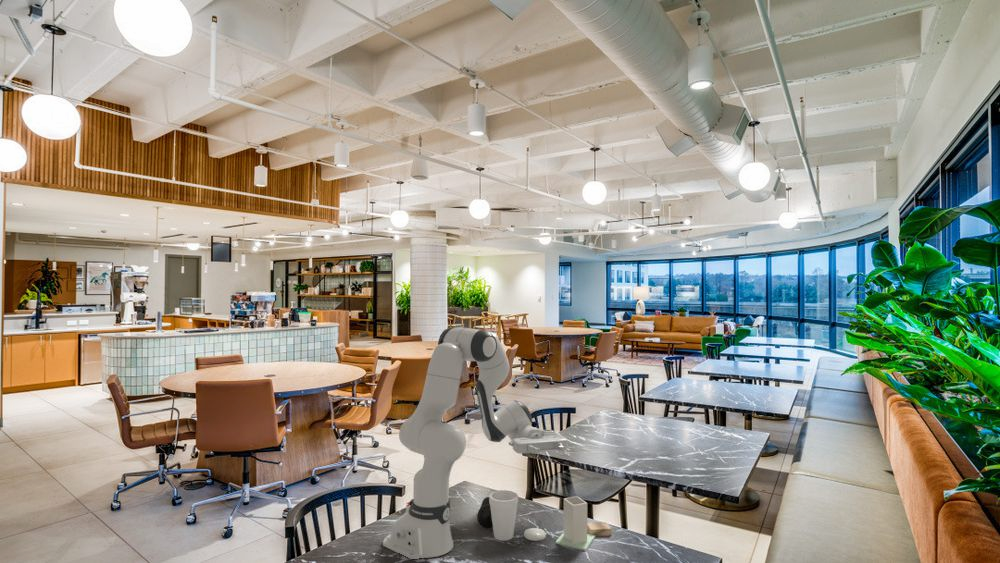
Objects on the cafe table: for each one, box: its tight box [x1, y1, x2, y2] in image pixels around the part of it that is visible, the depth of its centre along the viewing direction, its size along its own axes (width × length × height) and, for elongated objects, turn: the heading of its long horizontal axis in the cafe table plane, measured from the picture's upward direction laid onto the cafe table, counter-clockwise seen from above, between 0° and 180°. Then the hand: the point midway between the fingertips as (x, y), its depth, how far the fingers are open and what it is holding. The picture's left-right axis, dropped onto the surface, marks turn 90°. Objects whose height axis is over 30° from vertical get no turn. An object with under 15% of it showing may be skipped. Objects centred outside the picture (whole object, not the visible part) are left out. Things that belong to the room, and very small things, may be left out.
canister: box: [563, 496, 588, 544], centre depth 161 cm, size 6×5×12 cm
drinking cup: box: [476, 496, 493, 529], centre depth 173 cm, size 8×8×20 cm
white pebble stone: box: [523, 527, 546, 542], centre depth 164 cm, size 7×7×1 cm
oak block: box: [587, 521, 612, 537], centre depth 166 cm, size 7×5×2 cm
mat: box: [555, 531, 596, 552], centre depth 161 cm, size 10×10×1 cm
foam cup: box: [488, 489, 519, 541], centre depth 164 cm, size 10×9×13 cm
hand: (550, 450), depth 171 cm, fingers open, 8 cm apart
